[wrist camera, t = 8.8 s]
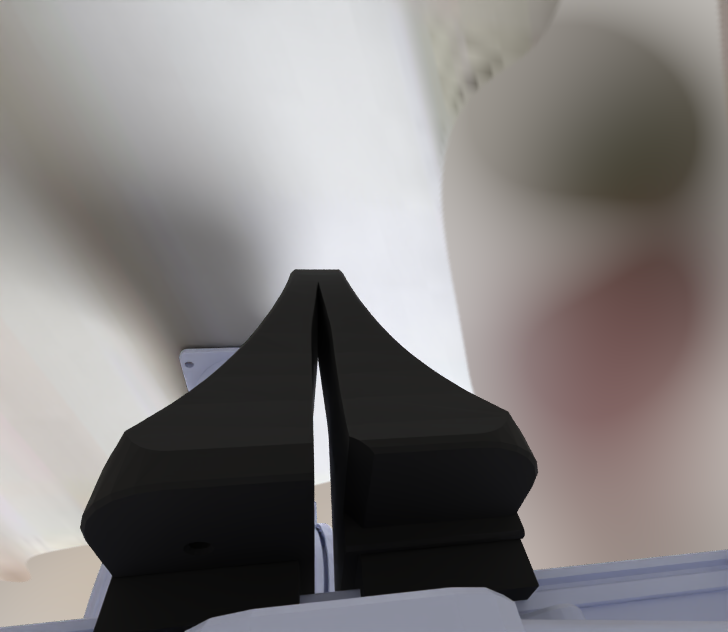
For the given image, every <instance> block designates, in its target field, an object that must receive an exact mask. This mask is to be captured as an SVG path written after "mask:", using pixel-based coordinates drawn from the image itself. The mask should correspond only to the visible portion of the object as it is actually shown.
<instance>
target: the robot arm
mask: <svg viewBox="0 0 728 632" xmlns="http://www.w3.org/2000/svg"><path fill="white" fill-rule="evenodd" d="M179 359H180V363H181V367H182V370H183V374H184V378H185V381H186V385H187V389H188V393H186V394H185V395H183V396H182V397H181V398H179V399H178V400H176V401H175V402H173V403H172V404H170V405H168V406H167V407H165V408H163V409H162V410H160V411H158V412H157V413H155V414H154V415H152V416H150V417H149V418H147V419H145V420H144V421H142V422H140V423H139V424H137V425H135V426H133V427H132V428H130V429H128V430H126V431H125V432H124V434H123V435H122V437H121V439H120V441H119V442H118V444H117V446H116V448H115V449H114V451H113V452H112V454H111V456H110V457H109V459H108V461H107V463H106V465H105V466H104V468H103V470H102V472H101V475H100V477H99V479H98V481H97V484H96V486H95V488H94V490H93V493H92V495H91V497H90V499H89V502H88V504H87V506H86V509H85V511H84V513H83V515H82V520H81V526H80V529H81V531H82V533H83V536H84V538H85V540H86V542H87V543H88V544H89V546H90V547H91V548H92V550H93V551H94V552H95V554H96V555H97V556H98V558H99V559H100V560H101V562H102V565H101V567H100V570H99V573H98V575H97V578H96V581H95V584H94V587H93V590H92V593H91V596H90V599H89V602H88V605H87V608H86V612H85V615H84V618H83V619H74V620H64V621H56V622H46V623H37V624H27V625H18V626H9V627H0V632H728V550H719V551H708V552H699V553H690V554H681V555H672V556H662V557H652V558H643V559H634V560H624V561H615V562H606V563H597V564H587V565H578V566H569V567H559V568H550V569H541V570H533V569H532V566H531V564H530V561H529V559H528V557H527V554H526V552H525V549H524V547H523V544H522V542H521V539H522V538H523V537H524V536H525V532H524V528H523V525H522V523H521V521H520V518H519V516H518V514H517V511H518V509H519V508H520V506H521V504H522V503H523V501H524V499H525V498H526V496H527V494H528V493H529V491H530V489H531V488H532V486H533V483H534V481H535V479H536V476H537V473H538V469H537V461H536V459H535V457H534V456H533V453H532V452H531V450H530V448H529V446H528V444H527V442H526V440H525V438H524V436H523V435H522V433H521V431H520V429H519V428H518V426H517V425H516V423H515V422H514V420H513V419H512V417H511V415H510V414H509V412H508V411H506V410H504V409H501V408H499V407H498V406H496V405H494V404H491V403H490V402H488V401H486V400H484V399H482V398H480V397H478V396H476V395H474V394H472V393H470V392H468V391H466V390H464V389H463V388H461V387H459V386H458V385H456V384H454V383H453V382H451V381H449V380H448V379H446V378H444V377H443V376H441V375H440V374H438V373H437V372H435V371H434V370H432V369H431V368H429V367H428V366H427V365H425V364H424V363H423V362H421V361H420V360H419V359H417V358H416V357H415V356H413V355H412V354H411V353H410V352H408V351H407V350H406V349H405V348H404V347H402V346H401V345H400V344H399V343H398V342H397V341H396V340H395V339H394V338H393V337H392V336H391V335H390V334H389V333H388V332H387V331H386V330H385V329H384V328H383V327H382V326H381V325H380V324H379V323H378V322H377V321H376V319H375V318H374V317H373V316H372V315H371V313H370V312H369V311H368V310H367V308H366V307H365V306H364V305H363V303H362V302H361V301H360V299H359V298H358V297H357V295H356V294H355V292H354V291H353V289H352V288H351V286H350V285H349V283H348V281H347V280H346V278H345V276H344V274H343V273H342V272H341V271H340V270H297V269H295V270H294V271H293V272H292V273H291V274H290V277H289V280H288V282H287V284H286V286H285V288H284V290H283V291H282V293H281V295H280V297H279V298H278V300H277V301H276V303H275V304H274V306H273V308H272V309H271V311H270V312H269V313H268V315H267V316H266V317H265V319H264V320H263V321H262V323H261V324H260V325H259V327H258V328H257V329H256V330H255V332H254V333H253V334H252V335H251V336H250V338H249V339H248V340H247V341H246V342H245V343H244V344H243V345H242V346H241V347H240V348H202V349H184V350H182V351H181V353H180V356H179ZM188 362H192V364H191V363H188ZM317 362H319V369H320V376H321V383H322V390H323V397H324V404H325V410H326V417H327V425H328V435H329V455H330V478H331V503H332V527H333V530H332V528H331V527H330V526H329V525H327V524H323V523H322V524H321V523H317V514H316V513H317V512H316V502H314V439H313V412H314V400H315V387H316V375H317Z"/></svg>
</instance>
